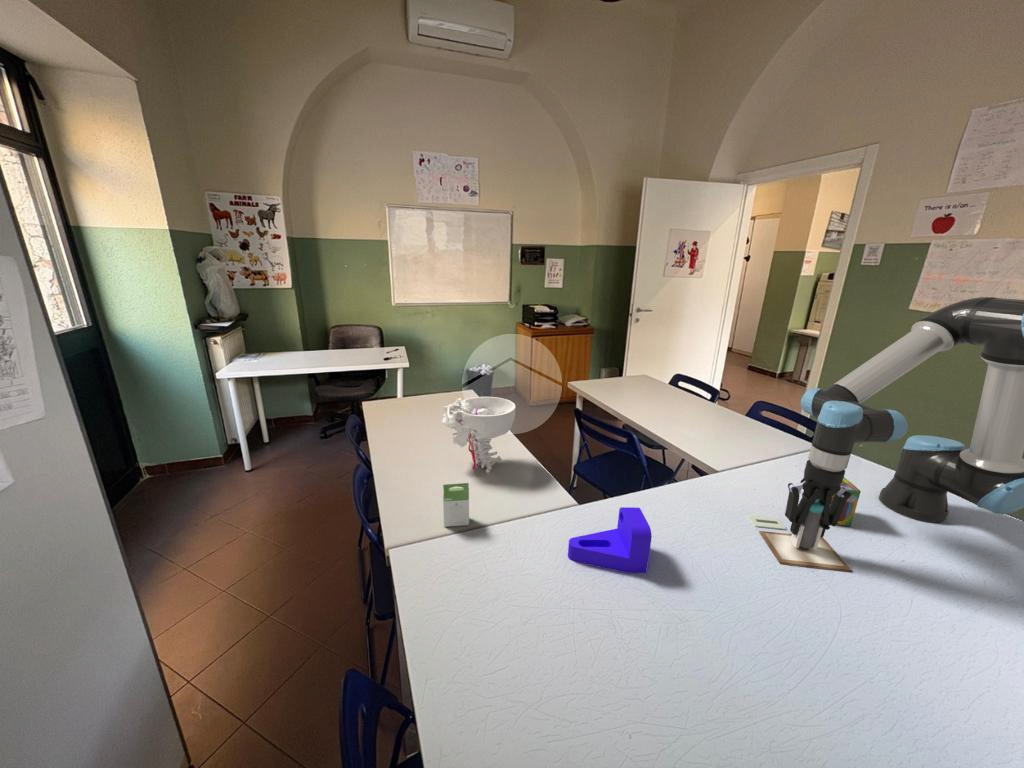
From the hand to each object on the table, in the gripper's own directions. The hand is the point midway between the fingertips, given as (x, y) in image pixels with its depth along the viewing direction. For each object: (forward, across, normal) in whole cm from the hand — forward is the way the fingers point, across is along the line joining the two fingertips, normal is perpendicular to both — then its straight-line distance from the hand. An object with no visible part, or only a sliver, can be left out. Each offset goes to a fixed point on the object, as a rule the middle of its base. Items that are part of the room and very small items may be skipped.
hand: (803, 544), depth 104 cm
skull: (+2, +92, -28) cm, 96 cm away
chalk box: (+2, -15, -17) cm, 23 cm away
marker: (+1, 0, 0) cm, 1 cm away
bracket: (+2, +51, +11) cm, 53 cm away
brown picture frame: (+1, 0, +1) cm, 2 cm away
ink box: (+2, +91, +4) cm, 91 cm away
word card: (+1, +4, -10) cm, 11 cm away
